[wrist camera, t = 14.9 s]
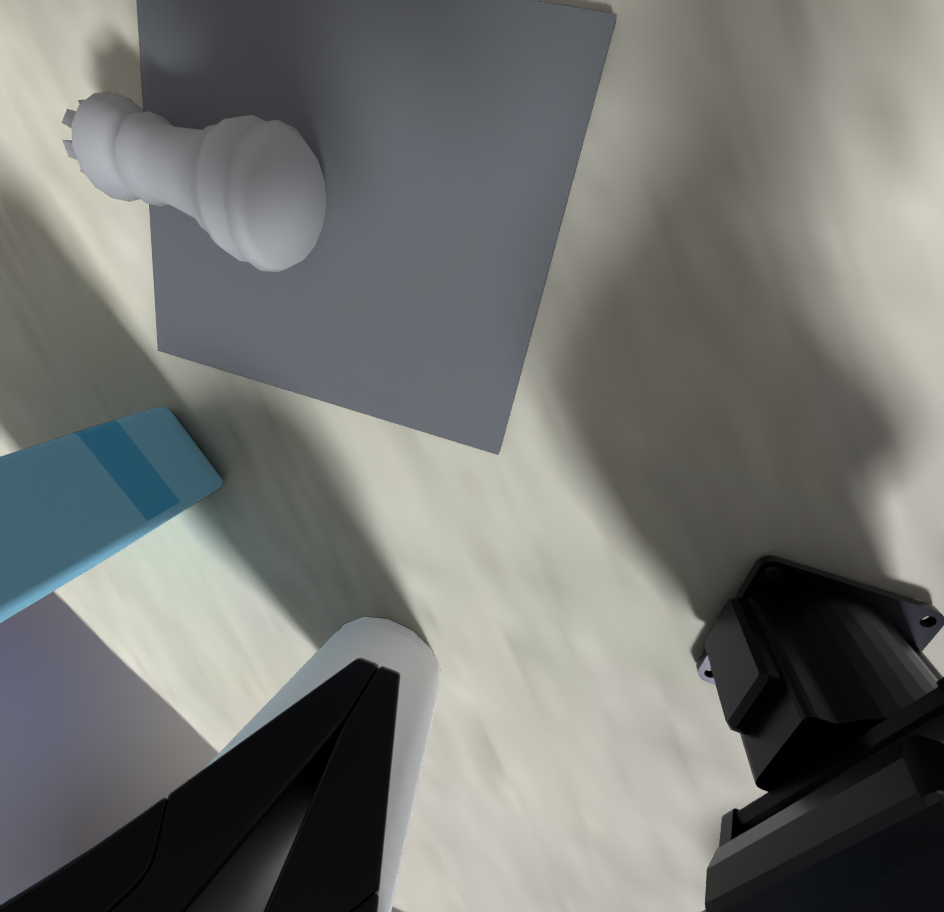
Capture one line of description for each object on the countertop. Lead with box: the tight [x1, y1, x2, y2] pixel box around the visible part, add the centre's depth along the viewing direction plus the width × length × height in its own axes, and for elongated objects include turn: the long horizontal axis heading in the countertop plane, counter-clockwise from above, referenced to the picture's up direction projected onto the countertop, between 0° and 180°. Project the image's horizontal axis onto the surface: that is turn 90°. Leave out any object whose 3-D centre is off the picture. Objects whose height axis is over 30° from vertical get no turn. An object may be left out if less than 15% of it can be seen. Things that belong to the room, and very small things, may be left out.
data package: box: [0, 407, 223, 623], centre depth 20 cm, size 12×4×12 cm, turn 122°
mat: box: [137, 0, 617, 455], centre depth 17 cm, size 16×14×1 cm
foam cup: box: [205, 617, 441, 912], centre depth 20 cm, size 10×9×13 cm
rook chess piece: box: [62, 92, 326, 272], centre depth 16 cm, size 4×4×8 cm
